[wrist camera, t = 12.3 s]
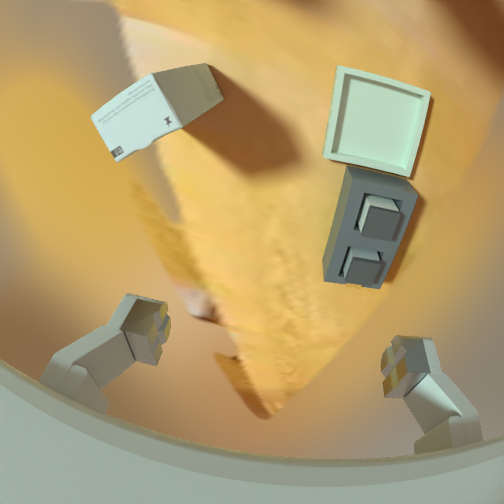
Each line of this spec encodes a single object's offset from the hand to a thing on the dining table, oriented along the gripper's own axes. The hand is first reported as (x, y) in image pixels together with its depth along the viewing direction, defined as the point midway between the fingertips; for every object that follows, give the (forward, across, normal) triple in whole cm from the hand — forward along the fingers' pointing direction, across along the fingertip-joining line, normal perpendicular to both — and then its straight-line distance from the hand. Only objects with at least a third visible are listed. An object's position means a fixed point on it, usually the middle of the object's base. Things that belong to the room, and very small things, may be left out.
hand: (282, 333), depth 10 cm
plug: (+30, -12, +8) cm, 33 cm away
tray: (+31, -10, -3) cm, 33 cm away
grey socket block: (+31, -12, +12) cm, 35 cm away
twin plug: (+30, -12, +16) cm, 36 cm away
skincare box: (+31, +14, -3) cm, 34 cm away
